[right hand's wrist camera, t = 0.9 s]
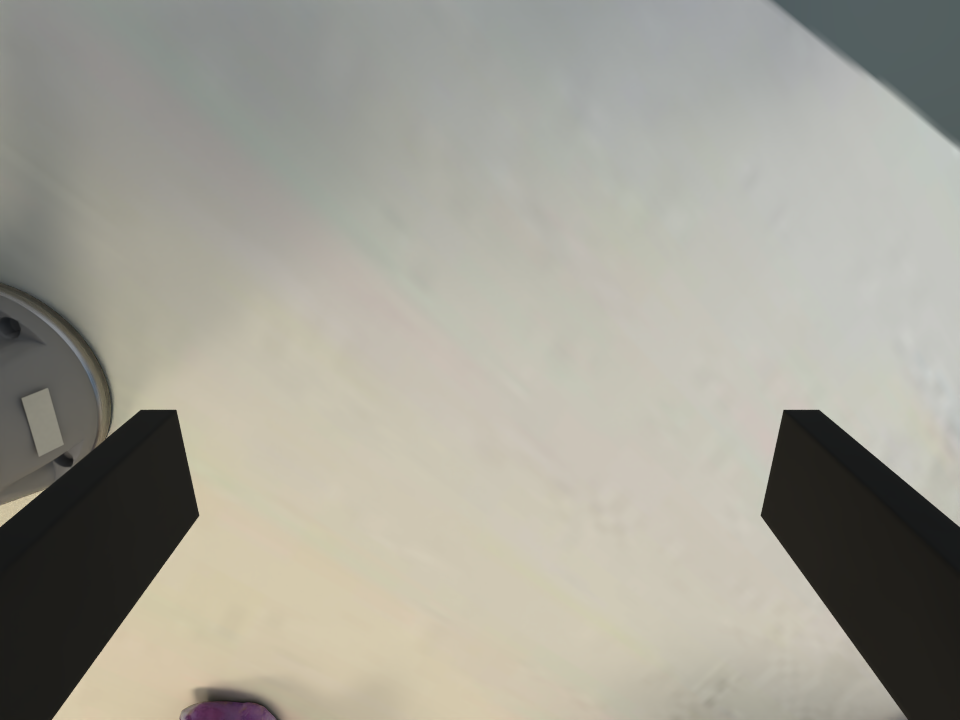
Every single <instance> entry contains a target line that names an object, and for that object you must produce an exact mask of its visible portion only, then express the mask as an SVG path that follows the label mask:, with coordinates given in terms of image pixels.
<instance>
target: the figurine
mask: <svg viewBox="0 0 960 720" xmlns="http://www.w3.org/2000/svg"><path fill="white" fill-rule="evenodd" d="M180 720H276V718H275V717H274V716H273V715H272V714H271V713H270V712H269V711H268V710H267V709H266V708H265V707H264V706H261V705H259V704H257V703H250V702H246V703H239V702H229V701H214V702H201V703H197V704H194V705H191V706H189V707H187V708H185V709H184V710H182V712H181V715H180Z"/></svg>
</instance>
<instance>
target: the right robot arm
mask: <svg viewBox="0 0 960 720" xmlns="http://www.w3.org/2000/svg"><path fill="white" fill-rule="evenodd" d="M110 419H111V400H110V394H109V389H108V385H107V382H106V378H105V376H104V373H103V371H102V368H101V366H100V364H99V362H98V361H97V359H96V357H95V355H94V354H93V352H92V350H91V349H90V347H89V346H88V345H87V343H86V342H85V341H84V339H83V338H82V337H81V336H80V335H79V333H78V332H77V331H76V330H75V329H74V328H73V327H72V326H71V325H70V324H69V323H68V322H67V321H66V320H65V319H64V318H62V317H61V316H60V315H59V314H58V313H56V312H55V311H54V310H52V309H51V308H50V307H48V306H47V305H45V304H44V303H42V302H41V301H39V300H37V299H36V298H34V297H32V296H30V295H28V294H26V293H24V292H22V291H20V290H18V289H15V288H13V287H10V286H7V285H4V284H1V283H0V505H3V504H5V503H8V502H11V501H14V500H17V499H19V498H22V497H25V496H28V495H31V494H33V493H36V492H39V491H42V490H44V491H43V492H42V493H41V494H40V495H38V496H37V497H36V498H35V499H34V500H32V501H31V502H30V503H29V504H28V505H26V506H25V507H24V508H23V509H22V510H20V511H19V512H18V513H17V514H16V515H14V516H13V517H12V518H11V519H10V520H8V521H7V522H6V523H5V524H4V525H2V526H1V527H0V720H52V719H53V717H54V716H55V715H56V713H57V712H58V710H59V709H60V708H61V706H62V705H63V704H64V702H65V701H66V699H67V698H68V697H69V695H70V694H71V692H72V691H73V690H74V688H75V687H76V686H77V684H78V683H79V681H80V680H81V679H82V677H83V676H84V674H85V673H86V672H87V670H88V669H89V668H90V666H91V665H92V663H93V662H94V661H95V659H96V658H97V656H98V655H99V654H100V652H101V651H102V650H103V648H104V647H105V645H106V644H107V643H108V641H109V640H110V638H111V637H112V636H113V634H114V633H115V632H116V630H117V629H118V627H119V626H120V625H121V623H122V622H123V620H124V619H125V618H126V616H127V615H128V614H129V612H130V611H131V609H132V608H133V607H134V605H135V604H136V602H137V601H138V600H139V598H140V597H141V596H142V594H143V593H144V591H145V590H146V589H147V587H148V586H149V584H150V583H151V582H152V580H153V579H154V578H155V576H156V575H157V573H158V572H159V571H160V569H161V568H162V566H163V565H164V564H165V562H166V561H167V560H168V558H169V557H170V555H171V554H172V553H173V551H174V550H175V548H176V547H177V546H178V544H179V543H180V542H181V540H182V539H183V537H184V536H185V535H186V533H187V532H188V530H189V529H190V528H191V526H192V525H193V524H194V522H195V521H196V519H197V518H198V517H199V512H198V508H197V503H196V498H195V494H194V489H193V485H192V480H191V475H190V471H189V466H188V461H187V457H186V452H185V448H184V443H183V438H182V434H181V429H180V424H179V420H178V415H177V411H176V410H140V411H139V412H138V413H137V414H135V415H134V416H133V417H132V418H131V419H129V420H128V421H127V422H126V423H125V424H123V425H122V426H121V427H120V428H119V429H117V430H116V431H115V432H114V433H113V434H111V435H110V436H109V437H108V438H107V439H105V438H106V435H107V433H108V429H109V425H110ZM45 489H46V490H45ZM761 517H762V518H763V519H764V521H765V522H766V524H767V525H768V526H769V528H770V529H771V530H772V532H773V533H774V535H775V536H776V537H777V539H778V540H779V542H780V543H781V544H782V546H783V547H784V548H785V550H786V551H787V553H788V554H789V555H790V557H791V558H792V560H793V561H794V562H795V564H796V565H797V566H798V568H799V569H800V571H801V572H802V573H803V575H804V576H805V578H806V579H807V580H808V582H809V583H810V584H811V586H812V587H813V589H814V590H815V591H816V593H817V594H818V596H819V597H820V598H821V600H822V601H823V602H824V604H825V605H826V607H827V608H828V609H829V611H830V612H831V614H832V615H833V616H834V618H835V619H836V620H837V622H838V623H839V625H840V626H841V627H842V629H843V630H844V632H845V633H846V634H847V636H848V637H849V638H850V640H851V641H852V643H853V644H854V645H855V647H856V648H857V650H858V651H859V652H860V654H861V655H862V656H863V658H864V659H865V661H866V662H867V663H868V665H869V666H870V668H871V669H872V670H873V672H874V673H875V674H876V676H877V677H878V679H879V680H880V681H881V683H882V684H883V686H884V687H885V688H886V690H887V691H888V692H889V694H890V695H891V697H892V698H893V699H894V701H895V702H896V704H897V705H898V706H899V708H900V709H901V710H902V712H903V713H904V715H905V716H906V717H907V719H908V720H960V527H959V526H958V525H956V524H955V523H954V522H953V521H952V520H950V519H949V518H948V517H947V516H946V515H944V514H943V513H942V512H941V511H940V510H938V509H937V508H936V507H935V506H934V505H932V504H931V503H930V502H929V501H928V500H926V499H925V498H924V497H923V496H922V495H920V494H919V493H918V492H917V491H916V490H914V489H913V488H912V487H911V486H910V485H908V484H907V483H906V482H905V481H904V480H902V479H901V478H900V477H899V476H898V475H896V474H895V473H894V472H893V471H892V470H891V469H889V468H888V467H887V466H886V465H885V464H883V463H882V462H881V461H880V460H879V459H877V458H876V457H875V456H874V455H873V454H871V453H870V452H869V451H868V450H867V449H865V448H864V447H863V446H862V445H861V444H859V443H858V442H857V441H856V440H855V439H853V438H852V437H851V436H850V435H849V434H847V433H846V432H845V431H844V430H843V429H841V428H840V427H839V426H838V425H837V424H835V423H834V422H833V421H832V420H831V419H829V418H828V417H827V416H826V415H825V414H823V413H822V412H821V411H820V410H784V411H783V415H782V420H781V424H780V429H779V434H778V438H777V443H776V448H775V452H774V457H773V461H772V466H771V471H770V475H769V480H768V485H767V489H766V494H765V498H764V503H763V508H762V512H761Z"/></svg>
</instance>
